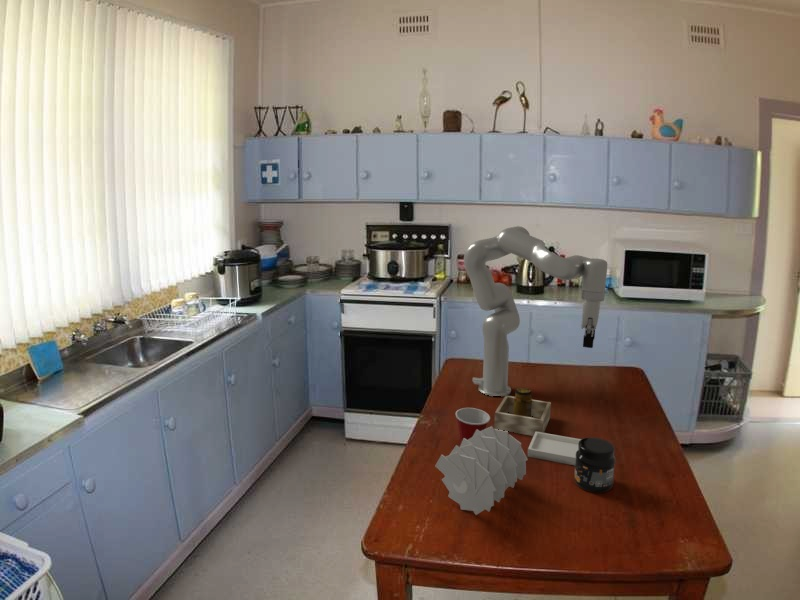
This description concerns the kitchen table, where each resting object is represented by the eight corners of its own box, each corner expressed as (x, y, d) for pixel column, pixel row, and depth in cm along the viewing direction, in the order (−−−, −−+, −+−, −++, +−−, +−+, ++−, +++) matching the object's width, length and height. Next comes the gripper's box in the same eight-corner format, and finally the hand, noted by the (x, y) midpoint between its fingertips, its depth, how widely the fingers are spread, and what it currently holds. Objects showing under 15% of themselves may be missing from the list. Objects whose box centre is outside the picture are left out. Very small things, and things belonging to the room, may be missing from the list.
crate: (494, 429, 198) (494, 412, 197) (504, 410, 212) (505, 395, 211) (542, 437, 192) (543, 420, 191) (549, 418, 206) (550, 402, 205)
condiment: (525, 417, 207) (526, 385, 205) (538, 427, 200) (540, 394, 197) (507, 420, 205) (508, 388, 202) (519, 430, 197) (521, 397, 194)
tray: (527, 456, 180) (527, 449, 179) (535, 438, 192) (535, 431, 191) (588, 468, 173) (589, 460, 172) (592, 448, 185) (593, 441, 184)
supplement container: (573, 471, 171) (576, 434, 168) (611, 477, 168) (615, 439, 165) (573, 490, 161) (576, 451, 158) (613, 497, 158) (617, 456, 156)
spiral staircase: (515, 494, 167) (472, 535, 147) (467, 453, 174) (420, 486, 154) (546, 448, 159) (505, 484, 139) (494, 407, 167) (449, 436, 147)
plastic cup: (480, 461, 177) (481, 424, 174) (448, 452, 182) (449, 416, 180) (494, 447, 186) (496, 412, 183) (463, 438, 191) (464, 404, 188)
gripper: (583, 289, 208) (579, 335, 212) (579, 299, 193) (575, 349, 197) (605, 290, 206) (601, 337, 210) (603, 301, 190) (598, 352, 194)
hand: (588, 343), depth 203 cm, fingers open, 9 cm apart
